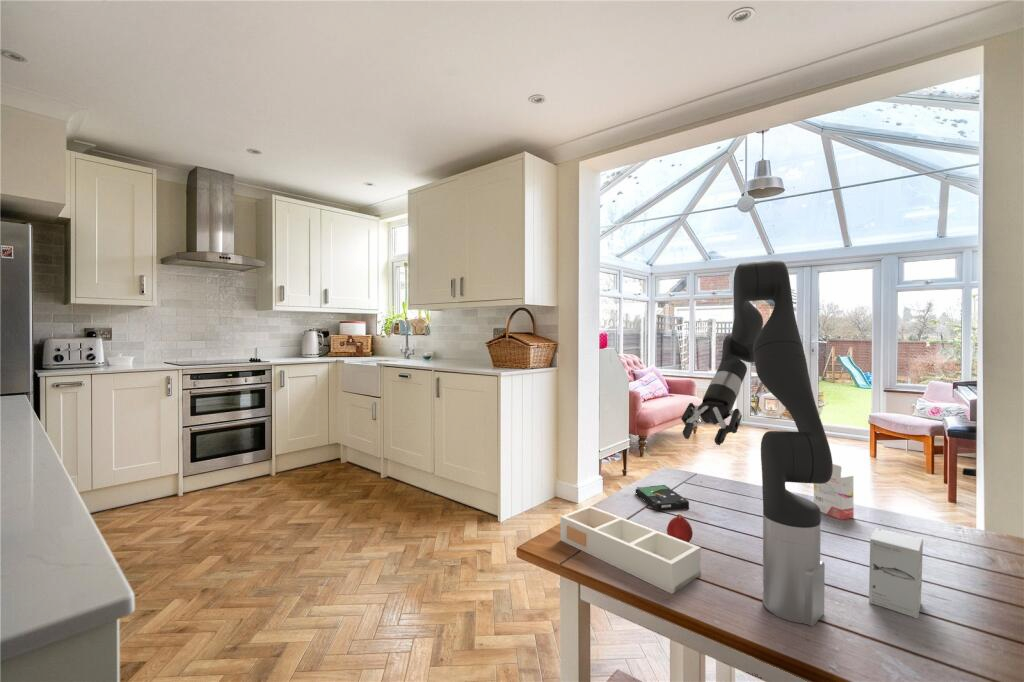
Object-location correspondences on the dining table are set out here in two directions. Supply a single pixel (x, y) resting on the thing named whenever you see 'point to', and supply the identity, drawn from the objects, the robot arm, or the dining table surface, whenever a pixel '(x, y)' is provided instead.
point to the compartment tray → (633, 547)
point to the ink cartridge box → (836, 495)
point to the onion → (680, 528)
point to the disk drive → (662, 498)
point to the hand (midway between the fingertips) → (700, 440)
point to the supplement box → (896, 571)
